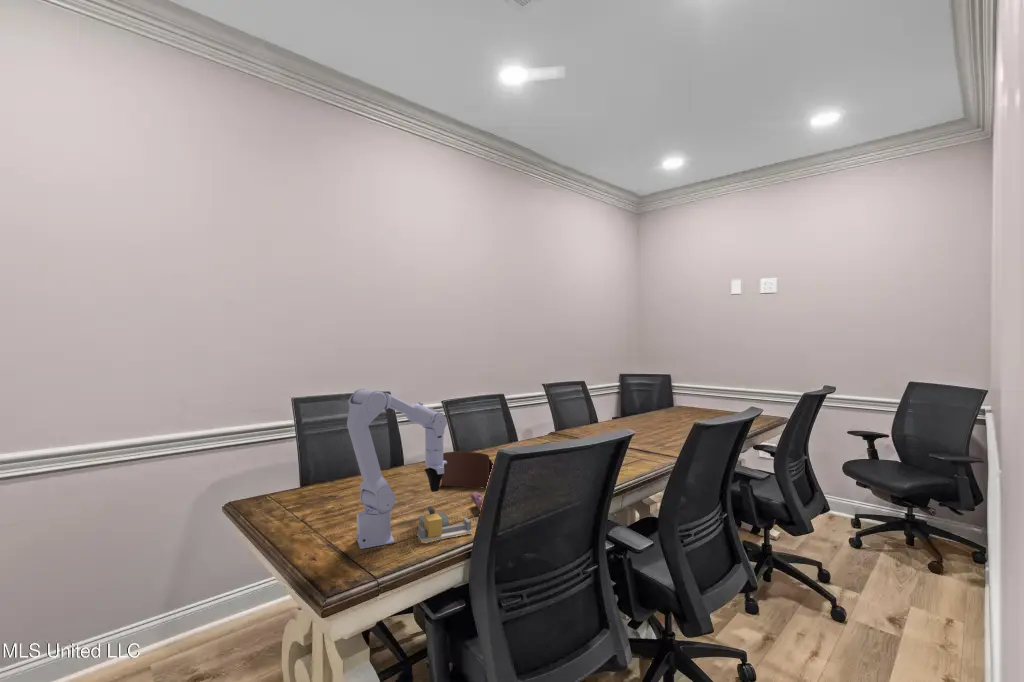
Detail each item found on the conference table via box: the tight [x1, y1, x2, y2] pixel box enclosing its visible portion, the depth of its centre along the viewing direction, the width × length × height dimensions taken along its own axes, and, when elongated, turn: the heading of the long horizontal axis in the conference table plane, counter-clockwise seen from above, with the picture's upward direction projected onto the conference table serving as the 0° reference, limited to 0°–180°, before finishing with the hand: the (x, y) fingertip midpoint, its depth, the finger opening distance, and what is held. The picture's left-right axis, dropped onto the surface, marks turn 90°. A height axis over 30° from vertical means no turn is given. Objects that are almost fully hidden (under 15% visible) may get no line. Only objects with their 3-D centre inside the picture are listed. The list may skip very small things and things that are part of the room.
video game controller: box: [469, 491, 484, 511], centre depth 161 cm, size 10×5×7 cm, turn 21°
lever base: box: [418, 512, 450, 528], centre depth 146 cm, size 8×5×3 cm, turn 116°
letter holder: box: [440, 450, 494, 489], centre depth 191 cm, size 10×20×14 cm, turn 79°
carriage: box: [423, 512, 442, 537], centre depth 138 cm, size 4×5×5 cm
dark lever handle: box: [427, 505, 436, 514], centre depth 148 cm, size 5×2×2 cm, turn 21°
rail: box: [416, 517, 473, 542], centre depth 140 cm, size 15×6×3 cm, turn 116°
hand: (434, 491), depth 152 cm, fingers closed
